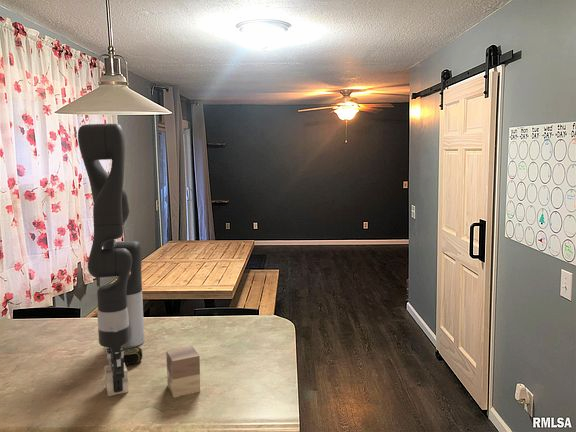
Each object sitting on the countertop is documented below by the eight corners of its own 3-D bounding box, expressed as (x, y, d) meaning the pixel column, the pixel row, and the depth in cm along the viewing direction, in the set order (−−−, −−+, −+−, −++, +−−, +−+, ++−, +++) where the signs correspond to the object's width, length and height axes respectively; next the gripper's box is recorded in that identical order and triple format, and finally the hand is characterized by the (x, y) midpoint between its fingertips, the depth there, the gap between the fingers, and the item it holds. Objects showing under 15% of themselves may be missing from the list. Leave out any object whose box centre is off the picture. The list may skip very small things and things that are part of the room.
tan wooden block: (167, 385, 133) (166, 368, 133) (193, 380, 136) (192, 363, 136) (173, 397, 127) (173, 379, 126) (200, 392, 130) (199, 374, 129)
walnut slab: (166, 368, 133) (166, 350, 132) (192, 363, 136) (192, 345, 135) (173, 379, 126) (172, 361, 126) (199, 374, 129) (199, 355, 129)
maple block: (105, 387, 132) (104, 366, 131) (125, 383, 134) (124, 362, 133) (108, 396, 128) (106, 374, 127) (128, 391, 130) (127, 370, 129)
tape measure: (139, 355, 152) (138, 343, 151) (145, 363, 146) (144, 351, 146) (116, 360, 148) (115, 348, 148) (121, 369, 143) (120, 357, 142)
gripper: (95, 318, 133) (98, 377, 135) (101, 337, 120) (105, 402, 123) (124, 313, 136) (127, 372, 139) (133, 332, 123) (136, 395, 126)
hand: (116, 386), depth 131 cm, fingers closed on maple block, 5 cm apart
